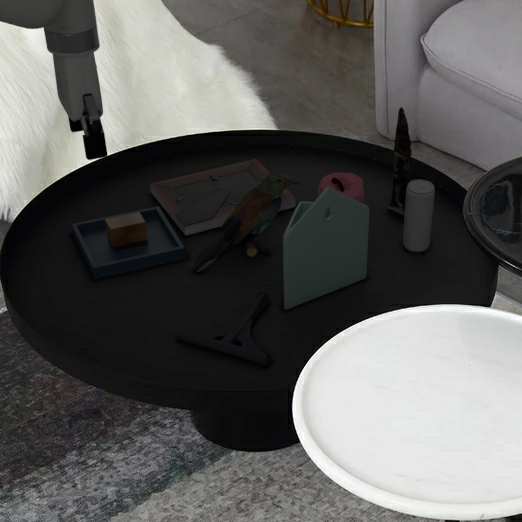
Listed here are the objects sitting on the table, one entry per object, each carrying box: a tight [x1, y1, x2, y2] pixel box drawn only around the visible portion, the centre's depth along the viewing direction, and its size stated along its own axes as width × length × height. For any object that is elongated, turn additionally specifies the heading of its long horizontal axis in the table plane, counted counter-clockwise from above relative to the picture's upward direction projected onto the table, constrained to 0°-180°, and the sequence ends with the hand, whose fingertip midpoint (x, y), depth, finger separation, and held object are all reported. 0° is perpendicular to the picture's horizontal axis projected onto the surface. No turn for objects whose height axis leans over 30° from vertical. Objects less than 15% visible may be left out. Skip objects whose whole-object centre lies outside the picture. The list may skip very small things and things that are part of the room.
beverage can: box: [402, 179, 436, 253], centre depth 172 cm, size 5×5×12 cm
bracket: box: [178, 290, 270, 366], centre depth 155 cm, size 14×15×3 cm
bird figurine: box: [190, 171, 303, 273], centre depth 168 cm, size 13×10×20 cm
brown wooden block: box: [105, 212, 148, 252], centre depth 170 cm, size 6×4×4 cm, turn 117°
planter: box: [282, 187, 370, 310], centre depth 160 cm, size 16×8×20 cm, turn 127°
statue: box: [386, 106, 413, 220], centre depth 177 cm, size 4×7×20 cm, turn 49°
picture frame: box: [149, 158, 297, 237], centre depth 183 cm, size 16×2×22 cm
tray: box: [70, 205, 187, 280], centre depth 171 cm, size 16×15×2 cm
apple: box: [316, 172, 366, 205], centre depth 177 cm, size 10×9×10 cm
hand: (88, 143), depth 157 cm, fingers open, 9 cm apart
